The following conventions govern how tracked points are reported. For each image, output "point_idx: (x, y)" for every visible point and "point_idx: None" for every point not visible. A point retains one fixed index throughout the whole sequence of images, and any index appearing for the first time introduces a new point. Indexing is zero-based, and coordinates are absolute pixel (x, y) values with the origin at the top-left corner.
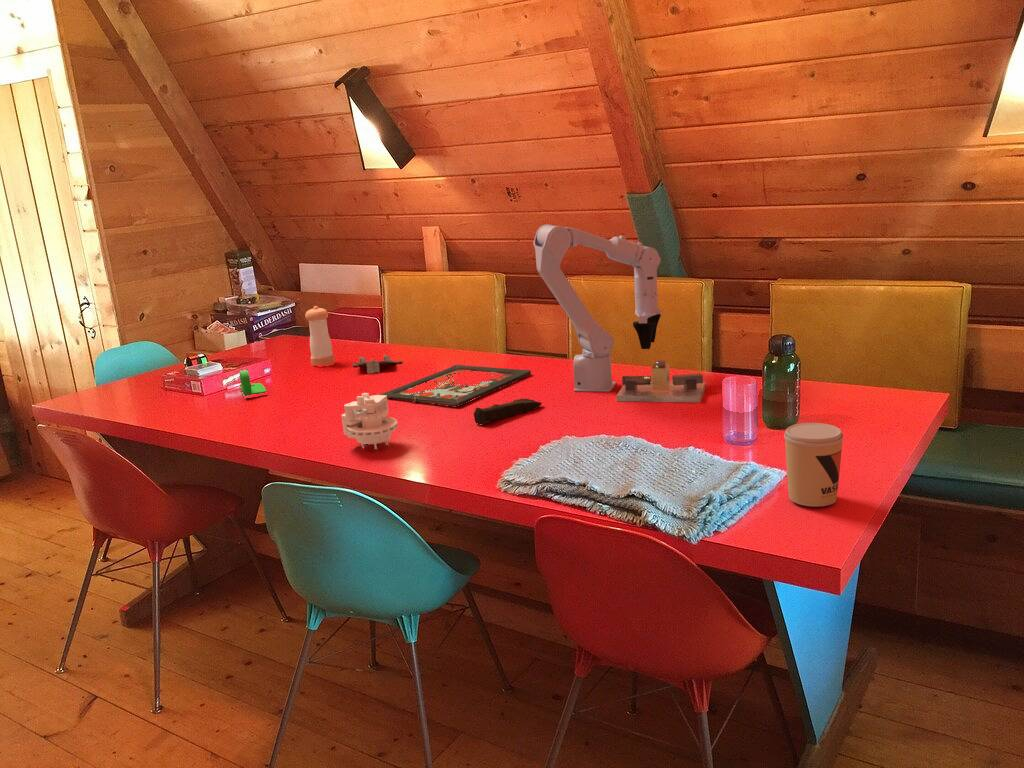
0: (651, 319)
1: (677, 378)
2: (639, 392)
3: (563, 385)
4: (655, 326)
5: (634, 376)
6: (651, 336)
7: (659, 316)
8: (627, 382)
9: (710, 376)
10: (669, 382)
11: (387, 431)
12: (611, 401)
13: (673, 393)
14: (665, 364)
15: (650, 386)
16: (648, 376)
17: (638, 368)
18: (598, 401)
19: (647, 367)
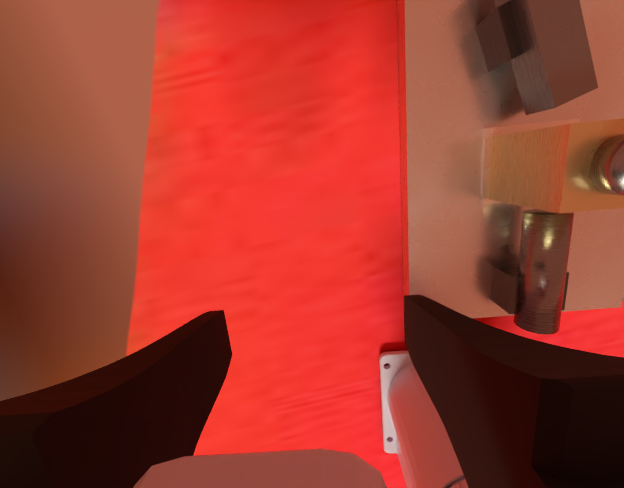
0: (120, 480)
1: (588, 72)
2: (582, 236)
3: (398, 484)
4: (158, 371)
5: (558, 286)
6: (466, 324)
7: (49, 426)
8: (563, 300)
9: (215, 11)
10: (503, 135)
11: None
12: (591, 313)
13: (615, 90)
14: (576, 144)
15: (495, 215)
16: (567, 224)
17: (156, 330)
18: (587, 351)
19: (134, 304)
